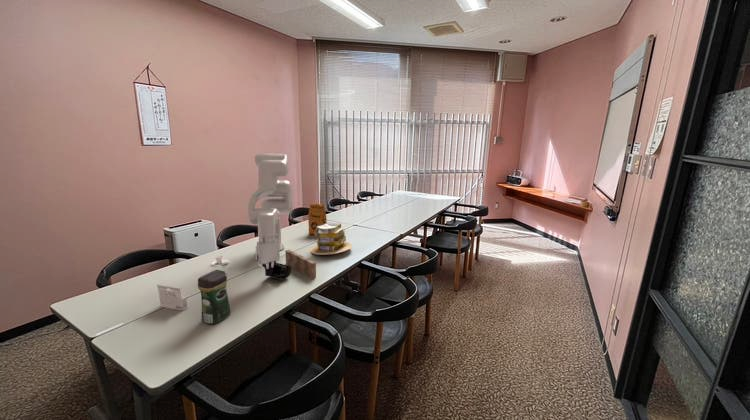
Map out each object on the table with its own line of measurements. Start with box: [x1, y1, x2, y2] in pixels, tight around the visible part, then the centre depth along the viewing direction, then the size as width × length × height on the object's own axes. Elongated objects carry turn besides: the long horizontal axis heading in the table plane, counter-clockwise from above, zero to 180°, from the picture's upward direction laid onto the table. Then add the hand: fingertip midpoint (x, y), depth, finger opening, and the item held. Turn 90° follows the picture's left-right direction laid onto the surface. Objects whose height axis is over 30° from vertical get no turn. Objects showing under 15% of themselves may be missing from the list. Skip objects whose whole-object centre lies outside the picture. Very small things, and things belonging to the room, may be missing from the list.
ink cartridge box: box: [156, 284, 188, 311], centre depth 123 cm, size 2×11×10 cm, turn 77°
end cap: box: [264, 262, 292, 281], centre depth 151 cm, size 10×7×7 cm
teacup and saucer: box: [211, 255, 230, 267], centre depth 166 cm, size 9×8×4 cm
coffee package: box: [307, 202, 327, 236], centre depth 216 cm, size 10×12×22 cm
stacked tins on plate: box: [310, 222, 353, 256], centre depth 188 cm, size 25×25×17 cm
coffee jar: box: [197, 269, 231, 325], centre depth 117 cm, size 10×8×19 cm
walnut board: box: [285, 249, 317, 280], centre depth 160 cm, size 24×2×8 cm, turn 48°
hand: (269, 275), depth 147 cm, fingers closed
